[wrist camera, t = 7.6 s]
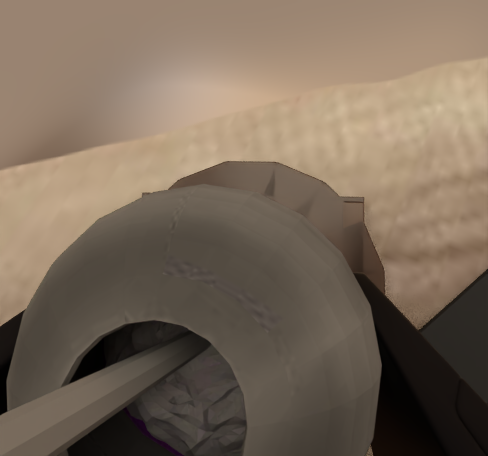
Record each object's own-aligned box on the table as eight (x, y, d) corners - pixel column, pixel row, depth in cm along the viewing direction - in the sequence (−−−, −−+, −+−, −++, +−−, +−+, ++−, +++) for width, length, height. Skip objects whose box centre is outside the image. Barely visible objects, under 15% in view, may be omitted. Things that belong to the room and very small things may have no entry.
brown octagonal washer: (375, 495, 19) (388, 522, 17) (115, 471, 20) (99, 493, 18) (372, 172, 21) (383, 162, 19) (139, 169, 22) (127, 159, 20)
